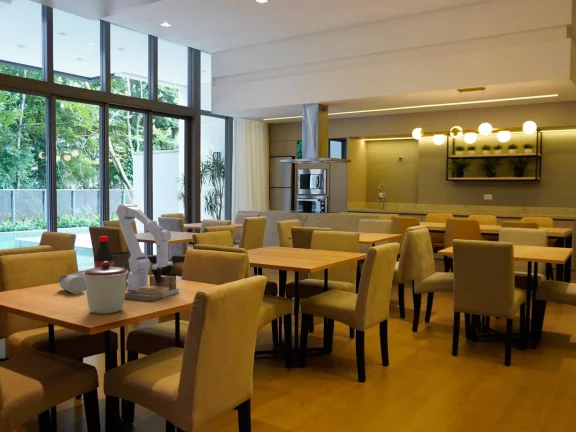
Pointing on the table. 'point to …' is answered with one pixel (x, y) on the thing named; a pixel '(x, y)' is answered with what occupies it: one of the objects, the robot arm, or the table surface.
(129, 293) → the tray
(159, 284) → the brown wooden block
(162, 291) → the tile right
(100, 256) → the cola bottle
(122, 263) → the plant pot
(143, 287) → the tile left
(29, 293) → the table surface
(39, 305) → the table surface
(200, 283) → the table surface
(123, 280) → the canister
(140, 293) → the slate board
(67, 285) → the bent grey cylinder
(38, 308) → the table surface
